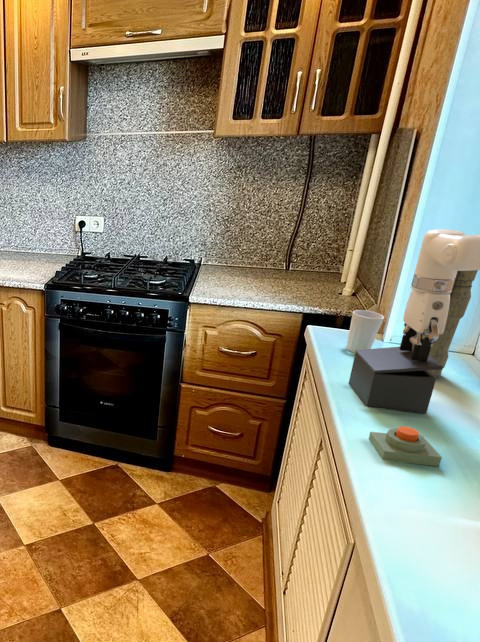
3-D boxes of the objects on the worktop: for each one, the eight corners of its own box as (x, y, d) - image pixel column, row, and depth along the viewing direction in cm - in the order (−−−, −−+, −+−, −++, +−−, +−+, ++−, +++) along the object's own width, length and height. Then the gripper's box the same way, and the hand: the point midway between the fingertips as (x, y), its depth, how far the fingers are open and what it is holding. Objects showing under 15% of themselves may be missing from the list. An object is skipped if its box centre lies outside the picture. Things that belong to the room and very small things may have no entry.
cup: (378, 356, 159) (390, 319, 155) (352, 355, 159) (363, 318, 155) (362, 345, 167) (373, 310, 162) (336, 345, 167) (347, 309, 162)
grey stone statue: (443, 368, 150) (489, 247, 136) (439, 382, 141) (488, 254, 128) (405, 359, 155) (446, 241, 142) (399, 372, 147) (442, 248, 133)
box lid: (416, 348, 134) (417, 329, 132) (442, 369, 122) (443, 349, 120) (355, 352, 138) (355, 335, 137) (374, 373, 126) (375, 354, 124)
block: (421, 445, 113) (425, 429, 112) (439, 466, 106) (444, 449, 105) (368, 440, 116) (372, 424, 114) (382, 460, 109) (386, 443, 107)
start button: (412, 434, 111) (414, 427, 110) (420, 443, 107) (422, 436, 107) (392, 432, 112) (394, 425, 111) (399, 441, 108) (401, 434, 108)
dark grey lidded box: (402, 389, 138) (411, 356, 135) (426, 414, 126) (436, 378, 123) (348, 385, 141) (355, 353, 138) (366, 408, 129) (374, 374, 126)
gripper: (471, 294, 113) (448, 370, 120) (433, 275, 129) (414, 343, 135) (430, 292, 115) (410, 368, 122) (398, 274, 131) (381, 341, 137)
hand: (412, 354), depth 128 cm, fingers closed on box lid, 5 cm apart
